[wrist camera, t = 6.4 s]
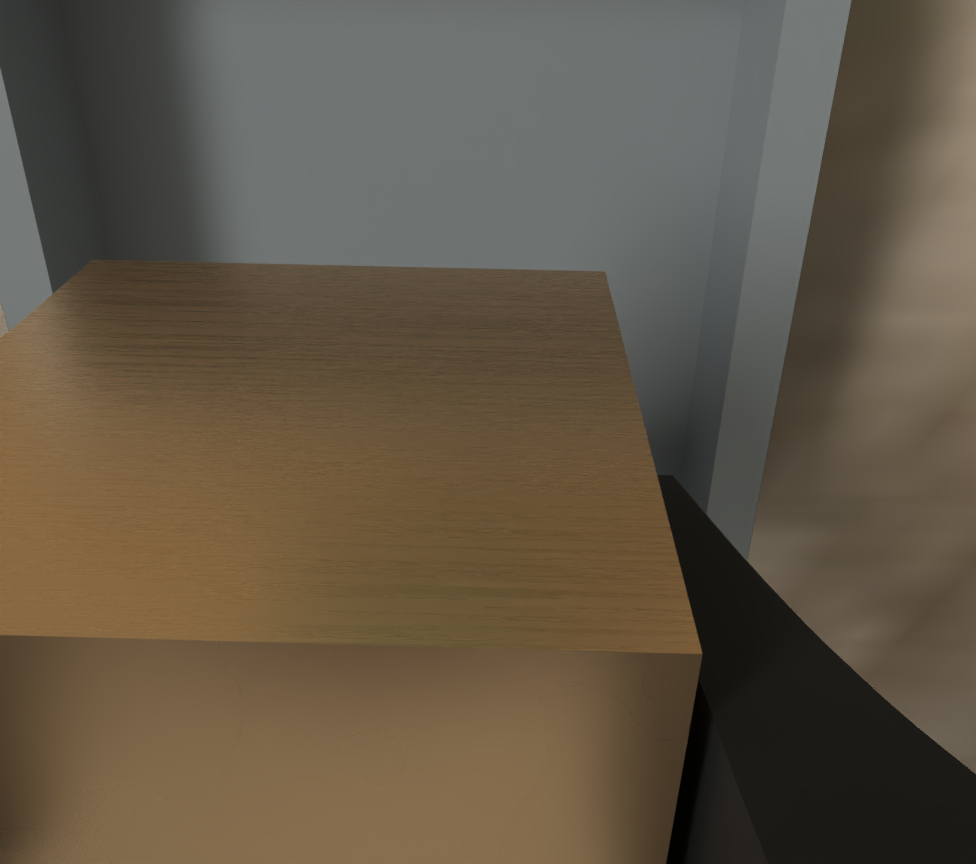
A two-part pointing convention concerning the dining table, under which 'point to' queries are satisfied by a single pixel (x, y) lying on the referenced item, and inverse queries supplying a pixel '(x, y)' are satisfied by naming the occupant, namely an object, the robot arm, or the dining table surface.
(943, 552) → the dining table surface
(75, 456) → the brown box
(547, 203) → the tote
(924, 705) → the dining table surface
